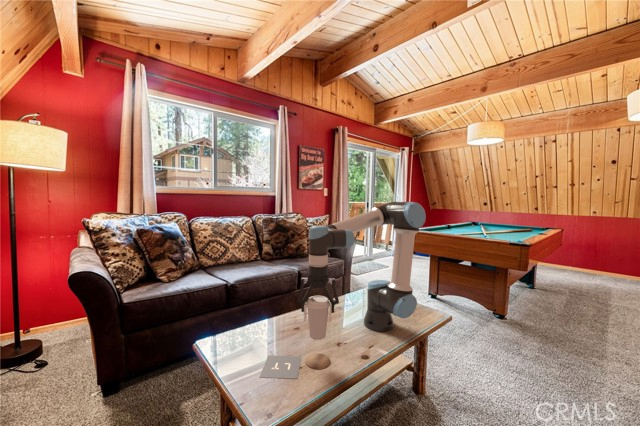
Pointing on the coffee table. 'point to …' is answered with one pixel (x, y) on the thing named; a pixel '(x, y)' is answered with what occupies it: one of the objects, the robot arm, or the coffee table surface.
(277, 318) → the coffee table surface
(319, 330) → the coffee cup
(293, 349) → the coffee table surface
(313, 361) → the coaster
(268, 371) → the tile
